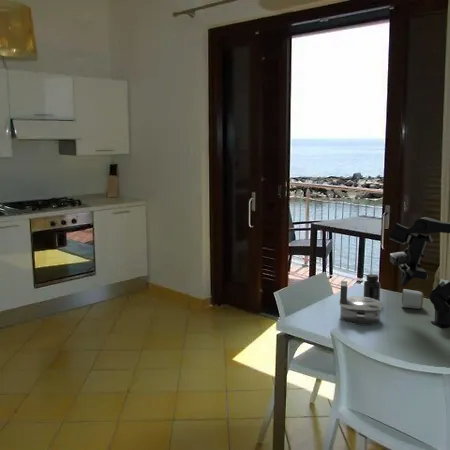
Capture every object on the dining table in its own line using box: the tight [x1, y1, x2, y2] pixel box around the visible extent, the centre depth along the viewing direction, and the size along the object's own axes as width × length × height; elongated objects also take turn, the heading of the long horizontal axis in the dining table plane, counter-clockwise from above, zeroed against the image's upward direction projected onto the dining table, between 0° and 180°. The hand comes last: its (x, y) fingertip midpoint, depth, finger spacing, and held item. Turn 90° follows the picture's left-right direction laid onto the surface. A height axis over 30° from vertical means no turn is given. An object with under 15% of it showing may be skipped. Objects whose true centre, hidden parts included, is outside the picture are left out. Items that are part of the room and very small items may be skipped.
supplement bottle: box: [363, 273, 381, 302], centre depth 220 cm, size 7×7×12 cm
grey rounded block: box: [400, 288, 424, 310], centre depth 215 cm, size 11×8×8 cm
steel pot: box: [339, 306, 381, 326], centre depth 200 cm, size 15×25×5 cm, turn 167°
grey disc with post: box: [338, 280, 383, 312], centre depth 199 cm, size 16×16×8 cm
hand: (402, 285), depth 201 cm, fingers closed
